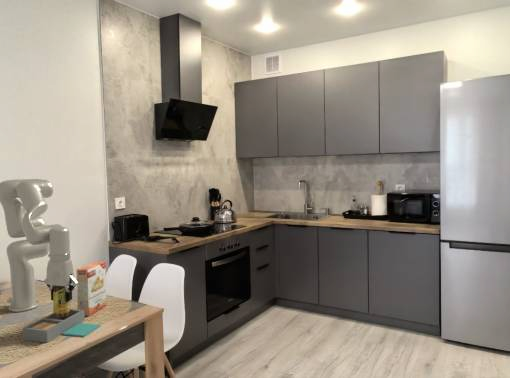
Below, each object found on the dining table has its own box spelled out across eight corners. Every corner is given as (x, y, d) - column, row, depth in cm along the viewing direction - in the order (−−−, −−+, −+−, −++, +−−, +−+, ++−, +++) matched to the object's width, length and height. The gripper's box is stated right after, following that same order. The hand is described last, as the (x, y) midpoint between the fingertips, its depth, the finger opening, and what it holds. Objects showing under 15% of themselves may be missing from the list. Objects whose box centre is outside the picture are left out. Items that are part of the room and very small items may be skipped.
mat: (62, 334, 153) (62, 333, 153) (79, 324, 163) (79, 323, 163) (84, 337, 151) (84, 335, 151) (100, 326, 161) (100, 325, 161)
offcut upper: (31, 332, 151) (31, 327, 151) (43, 327, 156) (42, 321, 156) (46, 335, 149) (45, 329, 149) (57, 329, 154) (56, 324, 154)
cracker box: (89, 316, 171) (87, 269, 170) (77, 315, 172) (75, 269, 171) (107, 305, 185) (105, 261, 183) (96, 304, 186) (94, 261, 185)
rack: (23, 339, 149) (22, 328, 149) (62, 318, 170) (62, 308, 169) (47, 342, 147) (46, 330, 146) (84, 320, 167) (84, 310, 167)
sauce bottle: (59, 319, 158) (57, 271, 157) (50, 316, 162) (48, 269, 160) (74, 314, 164) (72, 267, 162) (65, 311, 167) (63, 265, 166)
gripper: (35, 258, 159) (37, 301, 161) (71, 261, 155) (73, 305, 156) (49, 253, 167) (50, 295, 168) (84, 256, 162) (85, 298, 164)
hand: (61, 299), depth 162 cm, fingers closed on sauce bottle, 6 cm apart
